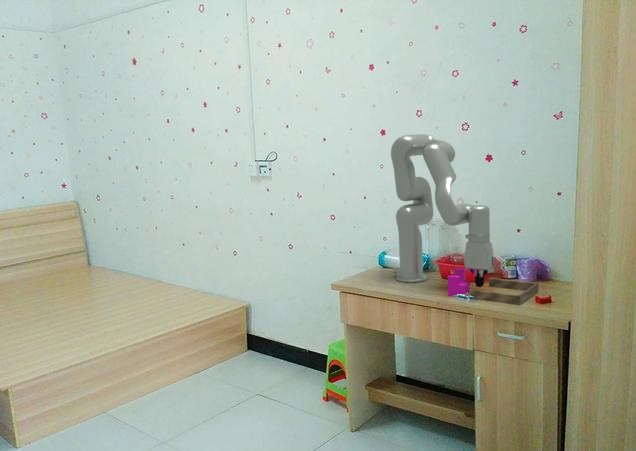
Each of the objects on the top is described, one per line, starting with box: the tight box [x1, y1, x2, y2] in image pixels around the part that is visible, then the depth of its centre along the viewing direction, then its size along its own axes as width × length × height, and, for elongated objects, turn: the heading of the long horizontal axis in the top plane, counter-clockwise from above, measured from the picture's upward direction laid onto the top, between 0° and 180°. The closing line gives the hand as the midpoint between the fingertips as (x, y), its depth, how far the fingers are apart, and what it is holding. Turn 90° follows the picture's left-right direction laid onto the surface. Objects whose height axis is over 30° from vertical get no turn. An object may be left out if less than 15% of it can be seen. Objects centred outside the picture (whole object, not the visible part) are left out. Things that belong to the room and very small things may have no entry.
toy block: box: [447, 267, 471, 297], centre depth 212 cm, size 15×6×8 cm, turn 156°
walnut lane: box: [468, 277, 539, 306], centre depth 205 cm, size 18×20×3 cm
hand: (479, 286), depth 211 cm, fingers closed
